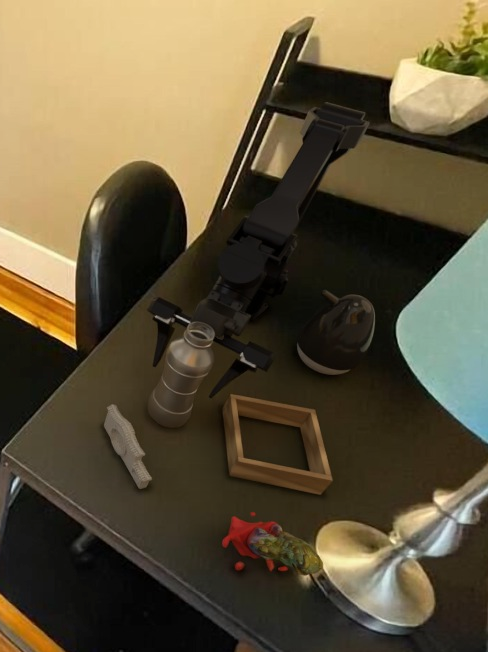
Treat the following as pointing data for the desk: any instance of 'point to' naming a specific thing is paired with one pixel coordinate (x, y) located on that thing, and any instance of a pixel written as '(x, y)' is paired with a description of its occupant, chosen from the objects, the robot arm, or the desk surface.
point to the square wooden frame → (274, 473)
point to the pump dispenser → (337, 334)
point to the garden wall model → (126, 445)
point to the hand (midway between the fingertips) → (181, 381)
